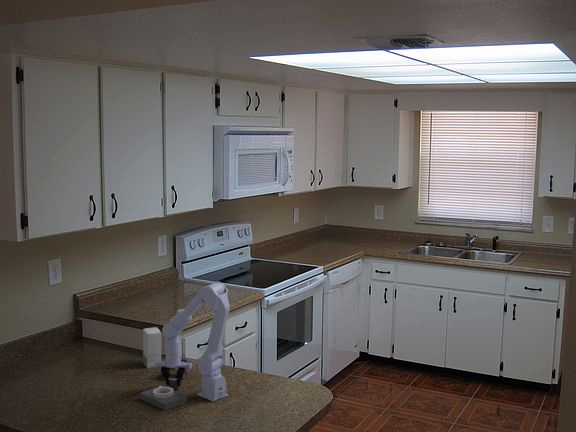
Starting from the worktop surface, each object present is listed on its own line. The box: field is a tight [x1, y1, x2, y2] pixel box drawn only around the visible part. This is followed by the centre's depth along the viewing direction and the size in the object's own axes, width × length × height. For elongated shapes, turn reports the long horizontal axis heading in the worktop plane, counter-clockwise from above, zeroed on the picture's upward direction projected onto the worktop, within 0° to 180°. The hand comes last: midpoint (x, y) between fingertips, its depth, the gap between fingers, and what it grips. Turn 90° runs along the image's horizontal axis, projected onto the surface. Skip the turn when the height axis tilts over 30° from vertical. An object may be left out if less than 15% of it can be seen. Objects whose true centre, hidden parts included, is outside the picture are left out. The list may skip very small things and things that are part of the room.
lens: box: [168, 372, 180, 392], centre depth 266 cm, size 4×4×6 cm
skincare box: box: [142, 326, 162, 369], centre depth 294 cm, size 8×7×16 cm
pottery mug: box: [170, 358, 189, 380], centre depth 281 cm, size 12×10×8 cm
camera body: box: [139, 385, 188, 411], centre depth 254 cm, size 16×10×4 cm, turn 46°
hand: (173, 385), depth 266 cm, fingers closed on lens, 4 cm apart
